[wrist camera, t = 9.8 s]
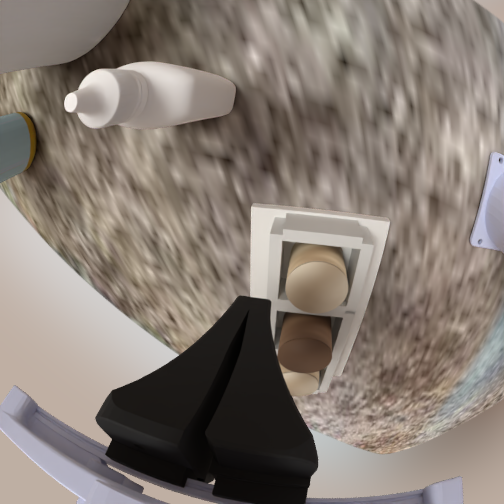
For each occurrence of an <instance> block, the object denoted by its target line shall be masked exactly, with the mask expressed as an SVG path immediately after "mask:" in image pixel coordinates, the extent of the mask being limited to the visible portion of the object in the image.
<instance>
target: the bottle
mask: <svg viewBox="0 0 504 504" xmlns="http://www.w3.org/2000/svg"><path fill="white" fill-rule="evenodd" d="M36 142H37V140H36V132H35V128H34V125H33V123H32V121H31V119H30V118H29V117H27V116H26V115H25V114H24V113H22V112H17V113H12V114H9V115H5V116H2V117H0V183H1V182H3V181H5V180H7V179H9V178H11V177H13V176H15V175H17V174H20V173H22V172H23V171H25V170H27V169H28V168H29V167H30V165H31V163H32V160H33V158H34V156H35V152H36Z"/></svg>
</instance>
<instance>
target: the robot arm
mask: <svg viewBox="0 0 504 504" xmlns="http://www.w3.org/2000/svg"><path fill="white" fill-rule="evenodd" d="M499 158H500V162H499ZM479 239H480V241H479V242H478V240H479ZM470 243H471V244H472V246H476V247H482V248H488V249H493V250H499V251H502V252H503V254H504V155H502V154H500V153H497V152H492V153H491V155H490V160H489V166H488V171H487V176H486V181H485V186H484V190H483V194H482V198H481V202H480V206H479V210H478V214H477V217H476V221H475V224H474V227H473V230H472V234H471V237H470ZM271 303H272V302H271V301H270V300H269V299H263V298H255V297H247V296H238V297H237V298H236V300H235V301H234V302H233V304H232V305H231V306H230V307H229V309H228V310H227V311H226V312H225V313H224V314H223V316H222V317H221V318H220V319H219V320H218V321H217V322H216V323H215V324H214V325H213V326H212V327H211V328H210V329H209V330H208V331H207V332H206V333H205V334H204V335H203V336H202V337H201V338H200V339H199V340H198V341H196V342H195V343H194V344H193V345H192V346H191V347H189V348H188V349H187V350H186V351H184V352H183V353H182V354H180V355H179V356H178V357H176V358H175V359H173V360H172V361H170V362H169V363H167V364H166V365H164V366H162V367H161V368H159V369H157V370H156V371H154V372H152V373H150V374H148V375H146V376H144V377H143V378H141V379H139V380H137V381H134V382H132V383H130V384H127V385H125V386H123V387H120V388H117V389H115V390H112V391H111V393H110V394H109V395H108V397H107V398H106V400H105V402H104V403H103V405H102V407H101V408H100V410H99V412H98V414H97V416H96V422H97V424H98V425H99V426H100V427H101V428H102V429H103V430H104V431H105V432H106V433H107V434H108V435H109V436H110V437H111V438H112V441H111V443H110V445H109V447H106V446H104V445H102V444H100V443H98V442H97V441H94V440H93V439H91V438H89V437H87V436H85V435H84V434H82V433H80V432H78V431H76V430H75V429H73V428H71V427H70V426H68V425H66V424H64V423H63V422H61V421H60V420H58V419H56V418H55V417H54V416H52V415H51V414H49V413H48V412H46V411H44V410H43V409H42V408H40V407H39V406H38V405H37V403H36V402H35V401H34V400H33V399H32V398H31V397H30V396H29V395H27V394H26V393H25V392H24V391H22V390H21V389H20V388H18V387H17V386H16V385H14V386H13V388H12V389H11V391H10V392H9V393H8V395H7V396H6V398H5V400H4V401H3V402H2V404H1V405H0V429H1V431H2V432H3V433H4V434H5V435H6V436H7V437H9V439H10V440H12V442H13V443H14V444H15V445H17V447H19V448H20V449H21V450H22V451H23V452H24V453H25V454H26V455H27V456H28V457H29V458H30V459H31V460H32V461H33V462H35V463H36V464H37V465H38V466H39V467H40V468H42V469H43V470H44V471H45V472H46V473H48V474H49V475H50V476H51V477H53V478H54V479H55V480H56V481H58V482H59V483H60V484H62V485H63V486H64V487H66V488H67V489H68V490H70V491H71V492H73V493H74V494H76V495H77V496H78V497H79V498H78V501H77V503H76V504H168V503H165V502H163V501H160V500H157V499H155V498H152V497H149V496H147V495H144V494H142V492H143V489H144V488H143V487H142V486H140V485H138V484H136V483H134V482H133V481H131V480H129V479H128V478H127V477H125V476H124V475H122V474H121V473H119V472H117V471H115V470H113V469H111V468H109V467H108V465H111V466H113V467H115V468H117V469H119V470H121V471H123V472H125V473H128V474H130V475H132V476H135V477H137V478H139V479H142V480H144V481H147V482H149V483H152V484H154V485H157V486H160V487H163V488H166V489H168V490H172V491H174V492H178V493H181V494H184V495H188V496H191V497H195V498H198V499H202V500H205V501H209V502H214V503H218V504H463V486H462V477H461V476H458V477H455V478H452V479H448V480H444V481H440V482H437V483H434V484H431V485H429V486H427V487H425V488H424V489H420V490H416V491H410V492H404V493H397V494H390V495H382V496H372V497H360V498H334V499H333V498H332V499H331V498H306V497H307V490H308V488H309V486H310V479H311V476H312V475H313V474H314V472H315V471H316V470H317V468H318V456H317V450H316V447H315V443H314V439H313V435H312V433H311V432H310V430H309V428H308V427H307V425H306V423H305V422H304V420H303V418H302V416H301V414H300V413H299V411H298V409H297V407H296V405H295V403H294V400H293V398H292V396H291V394H290V391H289V389H288V387H287V384H286V382H285V379H284V376H283V374H282V371H281V368H280V364H279V361H278V357H277V354H276V350H275V345H274V341H273V335H272V329H271V319H270V317H271ZM107 464H108V465H107ZM214 479H215V480H216V481H215V484H214V485H212V484H208V483H210V482H211V481H213V480H214Z"/></svg>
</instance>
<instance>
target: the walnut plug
mask: <svg viewBox="0 0 504 504" xmlns="http://www.w3.org/2000/svg"><path fill="white" fill-rule="evenodd" d="M277 357H278V361H279V363H280V364H281V365H282V366H283V367H285V368H286V369H288V370H290V371H293V372H297V373H314V372H317V371H320V370H322V369H324V368H326V367H327V366H328V365H329V364H330V362H331V360H332V329H331V316H320V315H311V314H301V313H292V312H285V314H284V317H283V323H282V330H281V336H280V342H279V348H278V354H277Z"/></svg>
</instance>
